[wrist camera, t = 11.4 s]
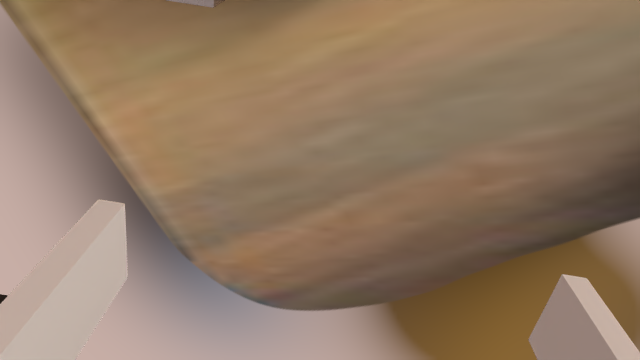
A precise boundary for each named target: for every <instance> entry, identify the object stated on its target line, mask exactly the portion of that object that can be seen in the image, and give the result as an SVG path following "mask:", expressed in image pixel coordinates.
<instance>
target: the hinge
mask: <svg viewBox="0 0 640 360" xmlns="http://www.w3.org/2000/svg"><path fill="white" fill-rule="evenodd" d="M168 1H174V2H180V3H187V4H193V5H200V6H206V7H213V8H214V7H215V6H217V5H218V4H220V3H221V2H223V1H224V0H168Z"/></svg>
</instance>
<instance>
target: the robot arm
mask: <svg viewBox="0 0 640 360" xmlns="http://www.w3.org/2000/svg"><path fill="white" fill-rule="evenodd" d="M127 278H128V269H127V245H126V220H125V204H122V203H117V202H111V201H105V200H98V201H97V202H96V203H95V204H94V205H93V206H92V207H91V208H90V209H89V210H88V211H87V212H86V213H85V215H83V216H82V218H81V219H80V220H79V221H78V222H77V223H76V224H75V225H74V226H73V227H72V228H71V229H70V230H69V231H68V233H67V234H66V235H65V236H64V237H63V238H62V239H61V240H60V241H59V242H58V243H57V244H56V245H55V246H54V247H53V248H52V249H51V251H50V252H49V253H48V254H47V255H46V256H45V257H44V258H43V259H42V260H41V261H40V262H39V263H38V265H36V267H35V268H34V269H33V270H32V271H31V272H30V273H29V274H28V275H27V276H26V277H25V278H24V279H23V280H22V282H21V283H20V284H19V285H18V286H17V287H16V288H15V289H14V290H13V291H12V292H11V293H10V294H9V295H8V296H7V295H1V294H0V360H75V359H76V358H77V356H78V355H79V353H80V352H81V350H82V348H83V347H84V345H85V344H86V342H87V341H88V339H89V337H90V336H91V334H92V333H93V331H94V329H95V328H96V326H97V325H98V323H99V322H100V320H101V319H102V317H103V315H104V314H105V312H106V311H107V309H108V308H109V306H110V304H111V303H112V301H113V300H114V298H115V297H116V295H117V293H118V292H119V290H120V289H121V287H122V285H123V284H124V282H125V281H126V279H127ZM529 342H530V344H531V346H532V349H533V351H534V353H535V355H536V357H537V359H538V360H640V352H639V351H638V350H637V348H636V347H635V345H634V344H633V342H632V341H631V340H630V338H629V337H628V335H627V334H626V332H625V331H624V330H623V328H622V327H621V326H620V324H619V323H618V321H617V320H616V319H615V317H614V316H613V314H612V313H611V311H610V310H609V309H608V307H607V306H606V305H605V303H604V302H603V300H602V299H601V297H600V296H599V295H598V293H597V292H596V291H595V289H594V288H593V286H592V285H591V283H590V282H589V281H588V279H587V278H583V277H577V276H570V275H564V274H562V275H561V277H560V279H559V281H558V283H557V285H556V287H555V289H554V291H553V293H552V295H551V297H550V298H549V301H548V303H547V304H546V307H545V308H544V310H543V312H542V314H541V316H540V318H539V320H538V322H537V324H536V326H535V328H534V329H533V332H532V333H531V335H530V338H529Z"/></svg>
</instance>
